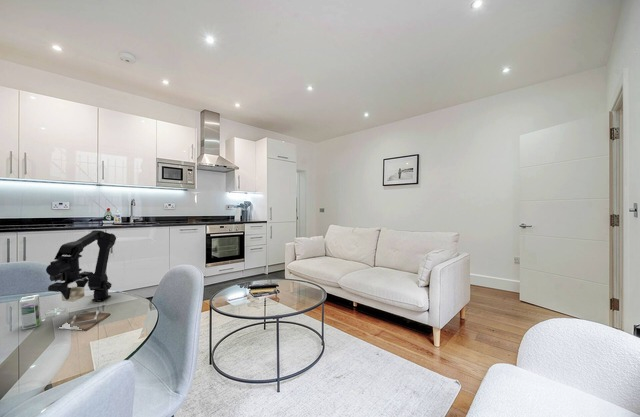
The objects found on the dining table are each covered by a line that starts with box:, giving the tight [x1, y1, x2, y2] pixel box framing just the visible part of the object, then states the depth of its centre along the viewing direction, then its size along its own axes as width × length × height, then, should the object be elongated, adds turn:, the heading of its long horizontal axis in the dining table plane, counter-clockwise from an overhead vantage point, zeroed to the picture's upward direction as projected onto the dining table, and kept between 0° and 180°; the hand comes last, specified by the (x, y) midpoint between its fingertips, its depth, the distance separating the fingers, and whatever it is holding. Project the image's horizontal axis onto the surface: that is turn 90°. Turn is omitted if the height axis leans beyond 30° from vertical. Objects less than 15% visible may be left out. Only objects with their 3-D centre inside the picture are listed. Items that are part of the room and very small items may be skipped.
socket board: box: [57, 309, 111, 332], centre depth 132 cm, size 14×14×2 cm
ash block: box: [61, 286, 85, 303], centre depth 134 cm, size 6×6×5 cm
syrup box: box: [19, 293, 42, 331], centre depth 125 cm, size 6×6×14 cm
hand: (73, 296), depth 134 cm, fingers closed on ash block, 6 cm apart
